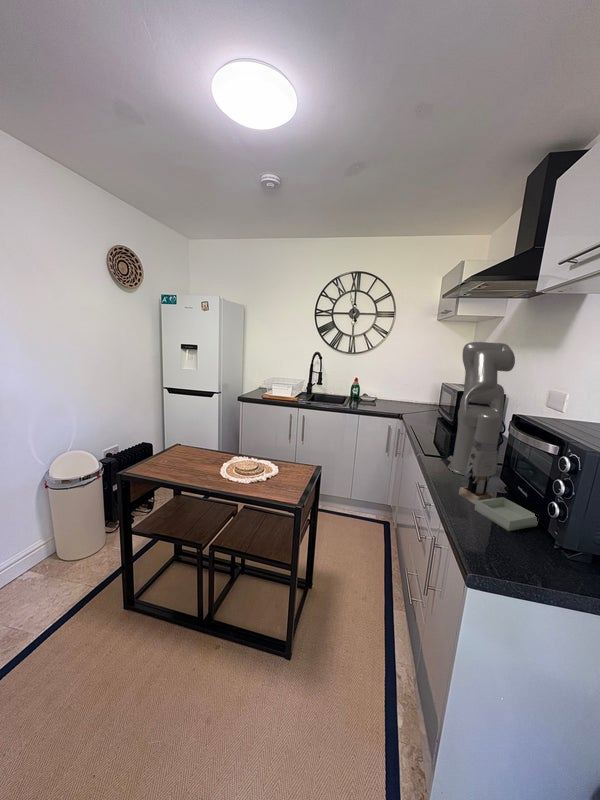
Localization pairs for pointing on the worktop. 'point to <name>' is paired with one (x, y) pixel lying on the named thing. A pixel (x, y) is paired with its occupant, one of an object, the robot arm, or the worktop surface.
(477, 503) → the tray
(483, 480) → the sprinkles bottle
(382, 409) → the worktop surface
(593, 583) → the worktop surface
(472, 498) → the collar
